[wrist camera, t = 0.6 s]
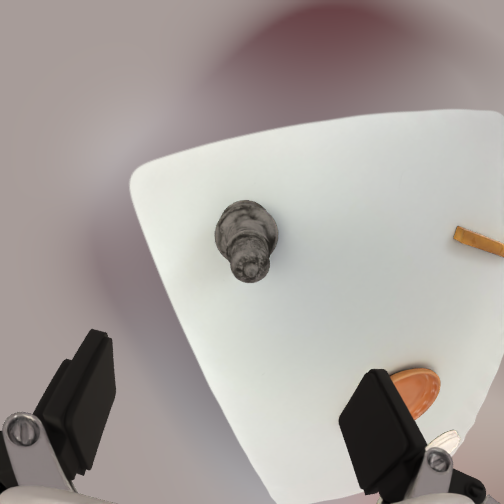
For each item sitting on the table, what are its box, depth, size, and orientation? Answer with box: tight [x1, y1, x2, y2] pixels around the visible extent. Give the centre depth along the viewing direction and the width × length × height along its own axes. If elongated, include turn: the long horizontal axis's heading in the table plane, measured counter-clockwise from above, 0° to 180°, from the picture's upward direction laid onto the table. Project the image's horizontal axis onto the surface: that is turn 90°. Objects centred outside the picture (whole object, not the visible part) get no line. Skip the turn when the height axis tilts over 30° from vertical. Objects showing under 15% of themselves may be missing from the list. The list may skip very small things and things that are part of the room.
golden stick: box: [454, 226, 504, 257], centre depth 33 cm, size 2×14×2 cm, turn 77°
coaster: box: [426, 430, 460, 453], centre depth 53 cm, size 10×10×4 cm
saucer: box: [390, 368, 440, 421], centre depth 42 cm, size 16×16×3 cm
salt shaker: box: [215, 200, 278, 283], centre depth 26 cm, size 6×6×12 cm
